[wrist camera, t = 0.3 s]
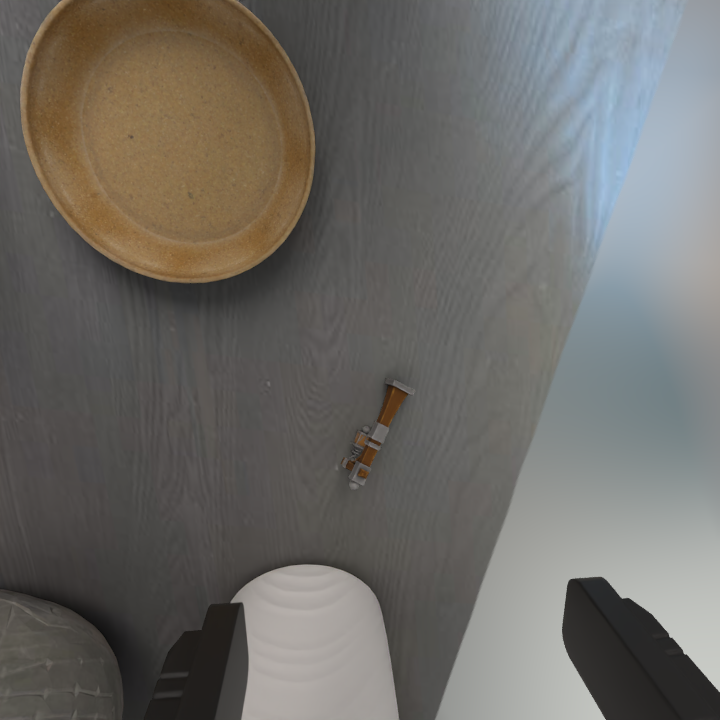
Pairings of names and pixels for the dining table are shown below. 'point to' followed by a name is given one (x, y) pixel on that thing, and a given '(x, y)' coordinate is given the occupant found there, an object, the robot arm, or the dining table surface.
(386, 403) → the wooden post with brackets
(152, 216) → the plant saucer
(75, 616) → the bowl
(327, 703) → the vase
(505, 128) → the dining table surface
